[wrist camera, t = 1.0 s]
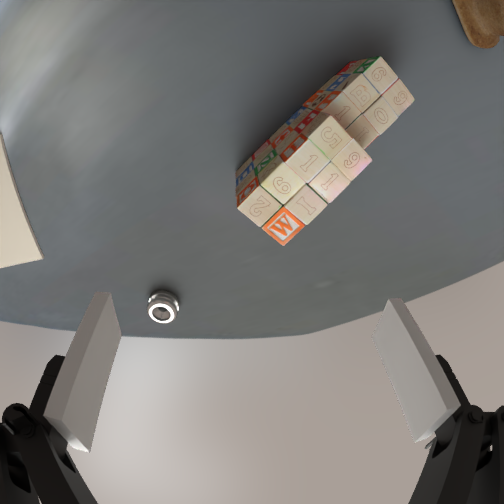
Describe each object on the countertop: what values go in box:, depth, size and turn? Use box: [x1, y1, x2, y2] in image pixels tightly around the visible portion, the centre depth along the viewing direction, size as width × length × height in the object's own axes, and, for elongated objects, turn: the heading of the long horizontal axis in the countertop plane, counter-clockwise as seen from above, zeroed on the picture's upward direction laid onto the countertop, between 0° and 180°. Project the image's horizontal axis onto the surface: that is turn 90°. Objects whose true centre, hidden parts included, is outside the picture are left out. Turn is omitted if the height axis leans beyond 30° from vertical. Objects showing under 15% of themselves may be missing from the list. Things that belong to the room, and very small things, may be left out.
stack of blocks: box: [236, 56, 415, 246], centre depth 31 cm, size 21×6×12 cm, turn 137°
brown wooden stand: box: [452, 0, 504, 48], centre depth 18 cm, size 15×12×15 cm
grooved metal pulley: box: [147, 290, 179, 324], centre depth 47 cm, size 5×3×5 cm
